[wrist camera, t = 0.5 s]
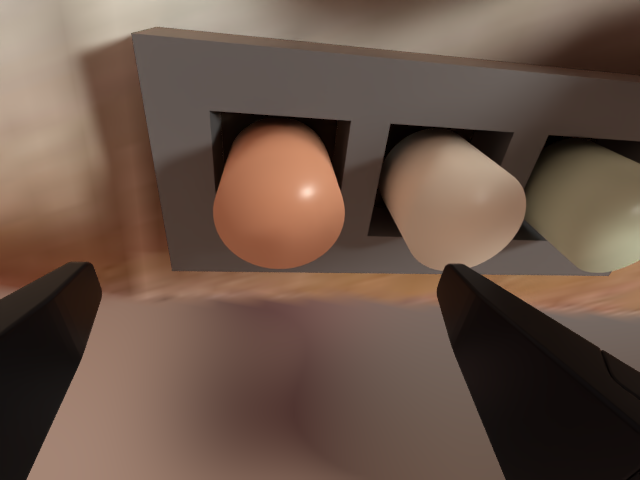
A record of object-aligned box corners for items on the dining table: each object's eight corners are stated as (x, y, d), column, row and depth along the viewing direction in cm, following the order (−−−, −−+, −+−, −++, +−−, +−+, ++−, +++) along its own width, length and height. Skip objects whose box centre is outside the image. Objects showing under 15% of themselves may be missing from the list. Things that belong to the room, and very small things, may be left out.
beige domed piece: (487, 131, 16) (547, 170, 13) (455, 218, 19) (498, 271, 15) (389, 124, 16) (423, 163, 12) (370, 215, 18) (394, 270, 14)
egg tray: (673, 78, 17) (739, 92, 15) (572, 245, 23) (608, 275, 20) (156, 26, 14) (131, 33, 12) (185, 236, 20) (172, 271, 17)
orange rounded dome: (335, 120, 15) (353, 159, 12) (324, 213, 18) (336, 269, 14) (225, 113, 15) (208, 151, 11) (230, 210, 17) (217, 268, 13)
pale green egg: (621, 141, 17) (714, 179, 13) (574, 222, 20) (641, 273, 16) (534, 134, 16) (607, 173, 13) (497, 220, 19) (549, 272, 15)
